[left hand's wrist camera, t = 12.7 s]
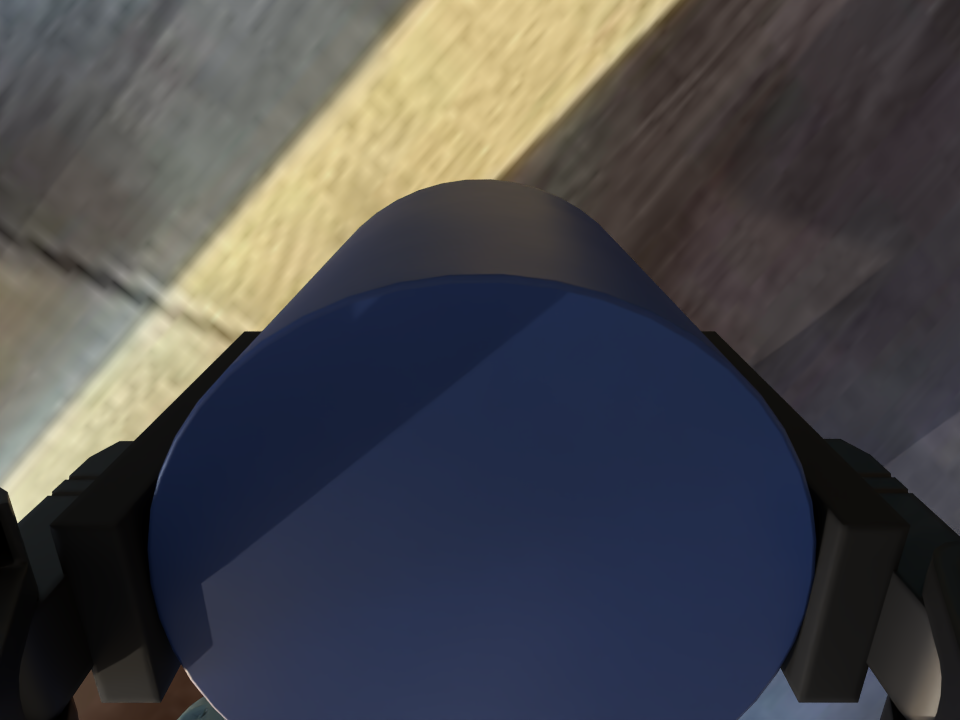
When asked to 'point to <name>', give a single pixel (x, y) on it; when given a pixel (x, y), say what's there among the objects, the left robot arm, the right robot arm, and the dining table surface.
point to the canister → (481, 489)
